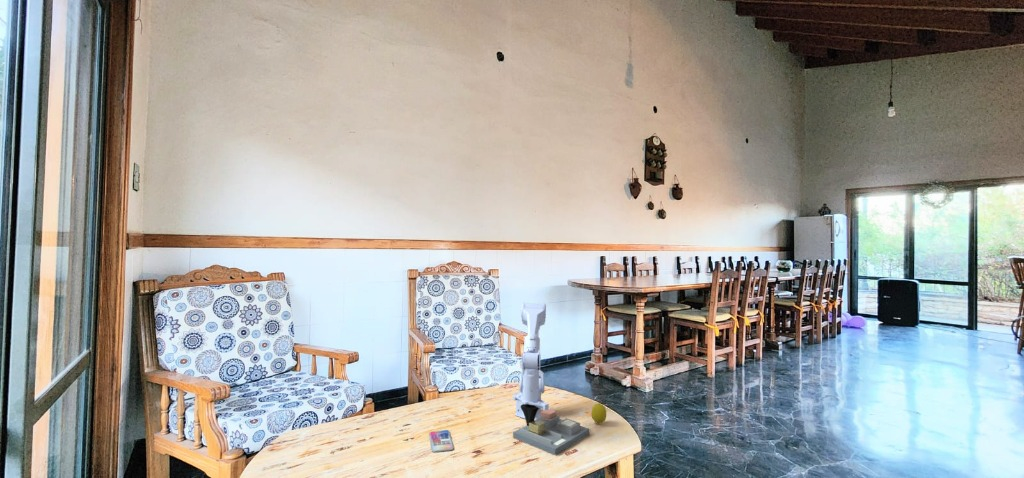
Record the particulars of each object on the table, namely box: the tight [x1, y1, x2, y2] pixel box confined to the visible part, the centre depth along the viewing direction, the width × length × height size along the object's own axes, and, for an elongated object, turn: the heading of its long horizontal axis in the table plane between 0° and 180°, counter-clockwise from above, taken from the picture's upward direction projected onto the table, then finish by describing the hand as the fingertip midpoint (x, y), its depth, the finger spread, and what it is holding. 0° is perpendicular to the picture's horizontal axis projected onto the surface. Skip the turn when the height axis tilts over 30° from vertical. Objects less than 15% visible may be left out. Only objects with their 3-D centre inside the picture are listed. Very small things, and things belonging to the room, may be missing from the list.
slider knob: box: [529, 419, 545, 435], centre depth 151 cm, size 4×4×4 cm
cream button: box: [561, 419, 577, 427], centre depth 155 cm, size 4×4×2 cm
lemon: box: [591, 402, 607, 425], centre depth 165 cm, size 6×6×8 cm
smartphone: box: [428, 429, 455, 454], centre depth 148 cm, size 7×1×15 cm
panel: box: [512, 414, 591, 456], centre depth 154 cm, size 18×21×4 cm
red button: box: [541, 408, 557, 420], centre depth 161 cm, size 4×4×2 cm
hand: (529, 425), depth 154 cm, fingers closed
